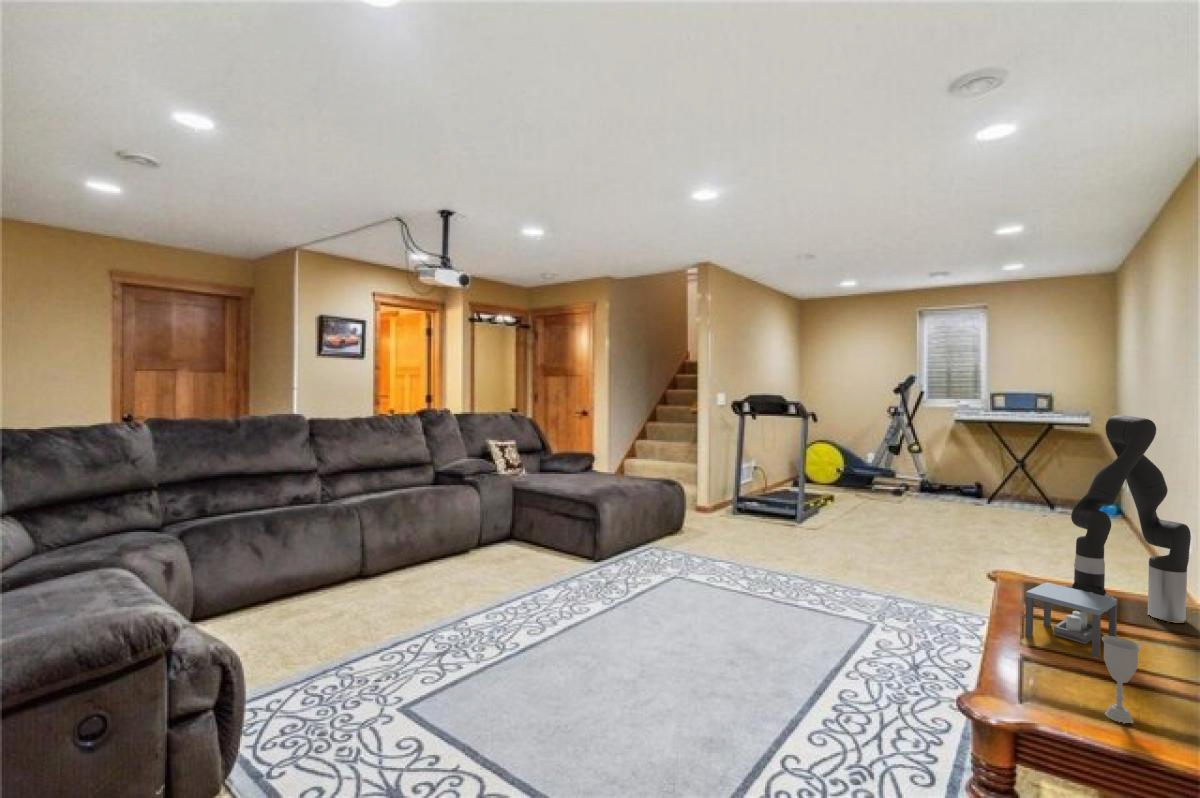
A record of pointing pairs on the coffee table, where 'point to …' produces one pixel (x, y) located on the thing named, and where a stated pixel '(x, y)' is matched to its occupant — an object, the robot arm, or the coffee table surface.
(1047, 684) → the coffee table surface
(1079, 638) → the tray
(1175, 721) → the coffee table surface
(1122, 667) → the chalice
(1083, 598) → the grey side table
